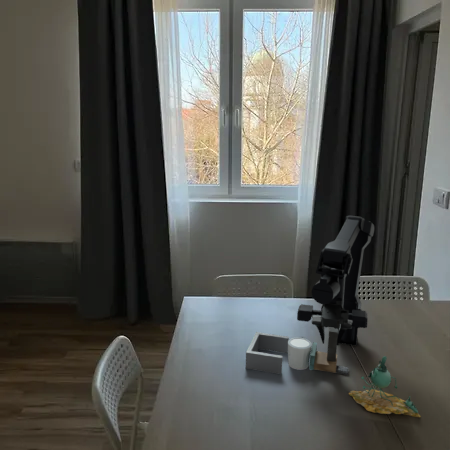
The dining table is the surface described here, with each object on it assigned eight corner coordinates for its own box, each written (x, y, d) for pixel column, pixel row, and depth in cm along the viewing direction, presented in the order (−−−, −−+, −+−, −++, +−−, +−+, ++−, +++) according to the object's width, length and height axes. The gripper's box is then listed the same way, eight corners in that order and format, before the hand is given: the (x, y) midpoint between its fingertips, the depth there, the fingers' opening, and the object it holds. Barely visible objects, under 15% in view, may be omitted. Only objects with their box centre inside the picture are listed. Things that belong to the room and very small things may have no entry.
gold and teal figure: (411, 432, 107) (410, 373, 104) (340, 407, 119) (338, 353, 116) (425, 413, 114) (425, 356, 111) (357, 391, 126) (355, 340, 123)
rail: (348, 370, 132) (348, 367, 132) (348, 374, 130) (348, 371, 130) (316, 365, 135) (316, 362, 135) (315, 369, 133) (315, 366, 132)
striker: (336, 359, 136) (339, 324, 133) (335, 373, 128) (338, 337, 126) (312, 355, 138) (314, 321, 135) (309, 369, 130) (311, 333, 127)
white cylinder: (310, 372, 131) (311, 349, 129) (285, 369, 132) (287, 346, 131) (310, 360, 138) (312, 338, 136) (287, 357, 139) (288, 335, 137)
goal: (288, 351, 142) (288, 336, 141) (281, 374, 130) (281, 358, 129) (255, 346, 145) (256, 331, 144) (245, 368, 132) (246, 352, 131)
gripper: (295, 299, 122) (293, 353, 126) (369, 306, 117) (365, 362, 121) (300, 284, 133) (298, 335, 136) (368, 291, 128) (364, 343, 131)
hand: (330, 343), depth 131 cm, fingers open, 3 cm apart
